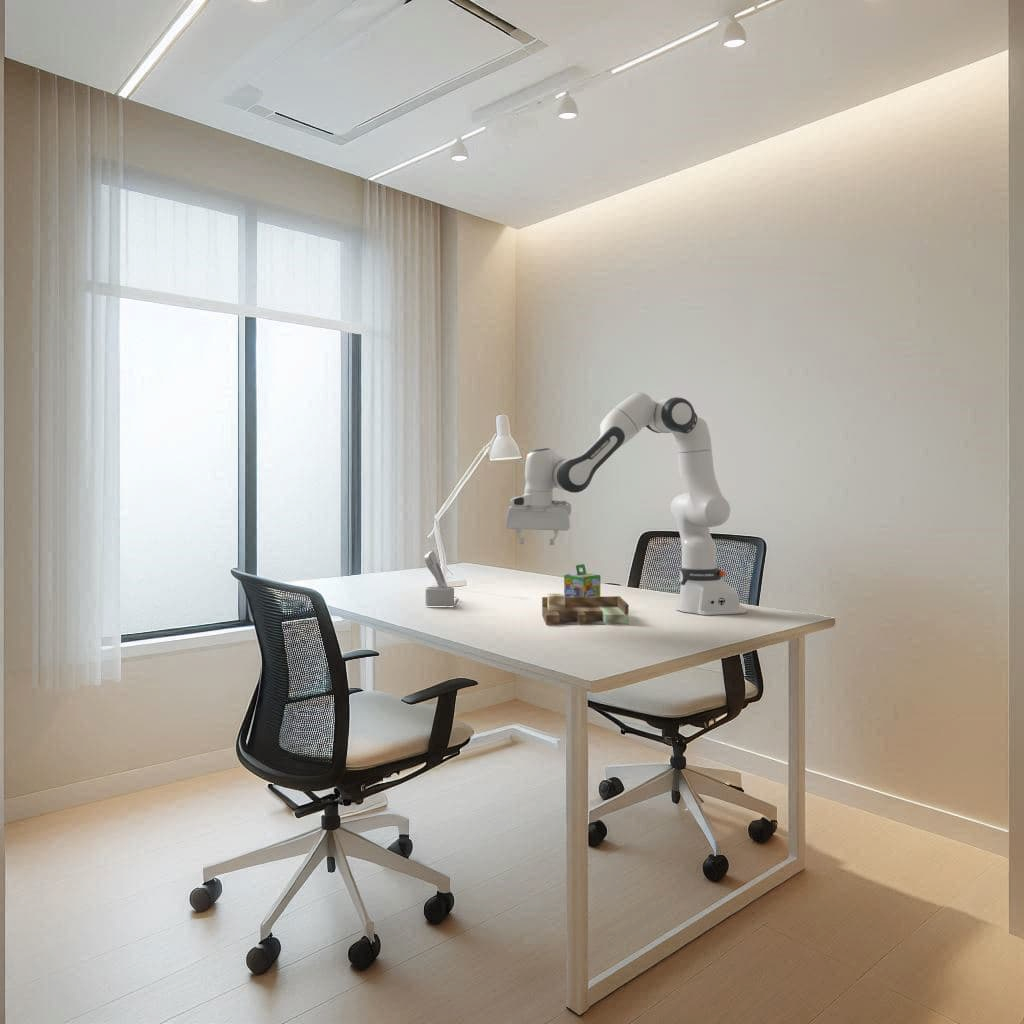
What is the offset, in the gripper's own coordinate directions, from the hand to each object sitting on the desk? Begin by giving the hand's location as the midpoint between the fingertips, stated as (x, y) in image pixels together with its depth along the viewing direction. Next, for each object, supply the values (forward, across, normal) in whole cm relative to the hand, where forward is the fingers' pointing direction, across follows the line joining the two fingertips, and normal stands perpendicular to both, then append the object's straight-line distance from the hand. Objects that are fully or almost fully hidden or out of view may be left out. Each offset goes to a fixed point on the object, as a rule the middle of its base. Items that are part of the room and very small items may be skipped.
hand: (536, 544), depth 243 cm
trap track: (+23, -15, +2) cm, 28 cm away
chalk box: (+23, -16, -17) cm, 33 cm away
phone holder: (+24, +33, -26) cm, 48 cm away
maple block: (+20, -7, 0) cm, 21 cm away
